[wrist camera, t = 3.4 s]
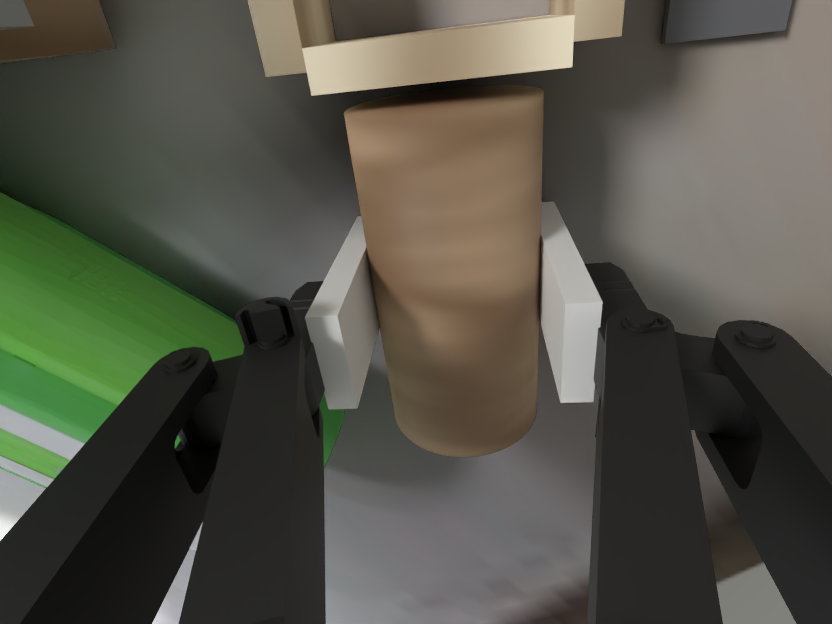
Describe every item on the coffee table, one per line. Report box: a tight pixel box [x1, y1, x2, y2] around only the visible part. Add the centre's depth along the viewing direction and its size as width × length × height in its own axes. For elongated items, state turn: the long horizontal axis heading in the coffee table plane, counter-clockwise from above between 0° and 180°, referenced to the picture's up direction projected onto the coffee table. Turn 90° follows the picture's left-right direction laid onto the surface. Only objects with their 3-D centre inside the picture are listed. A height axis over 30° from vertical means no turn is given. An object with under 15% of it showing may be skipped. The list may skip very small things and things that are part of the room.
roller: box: [344, 85, 544, 457], centre depth 15 cm, size 5×10×5 cm, turn 6°
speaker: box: [0, 192, 345, 551], centre depth 16 cm, size 18×7×8 cm, turn 56°
